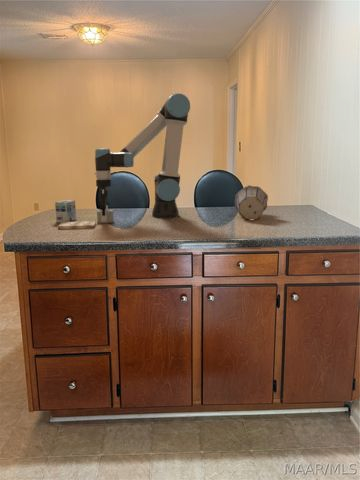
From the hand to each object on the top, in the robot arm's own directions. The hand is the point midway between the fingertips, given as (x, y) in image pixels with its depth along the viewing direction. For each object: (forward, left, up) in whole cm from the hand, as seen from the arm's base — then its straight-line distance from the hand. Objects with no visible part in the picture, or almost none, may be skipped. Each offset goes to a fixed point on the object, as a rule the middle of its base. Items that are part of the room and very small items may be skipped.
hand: (104, 219), depth 218 cm
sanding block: (0, 0, -1) cm, 1 cm away
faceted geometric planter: (-80, -4, -1) cm, 80 cm away
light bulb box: (+21, -6, -1) cm, 22 cm away
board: (+13, +12, -1) cm, 18 cm away
